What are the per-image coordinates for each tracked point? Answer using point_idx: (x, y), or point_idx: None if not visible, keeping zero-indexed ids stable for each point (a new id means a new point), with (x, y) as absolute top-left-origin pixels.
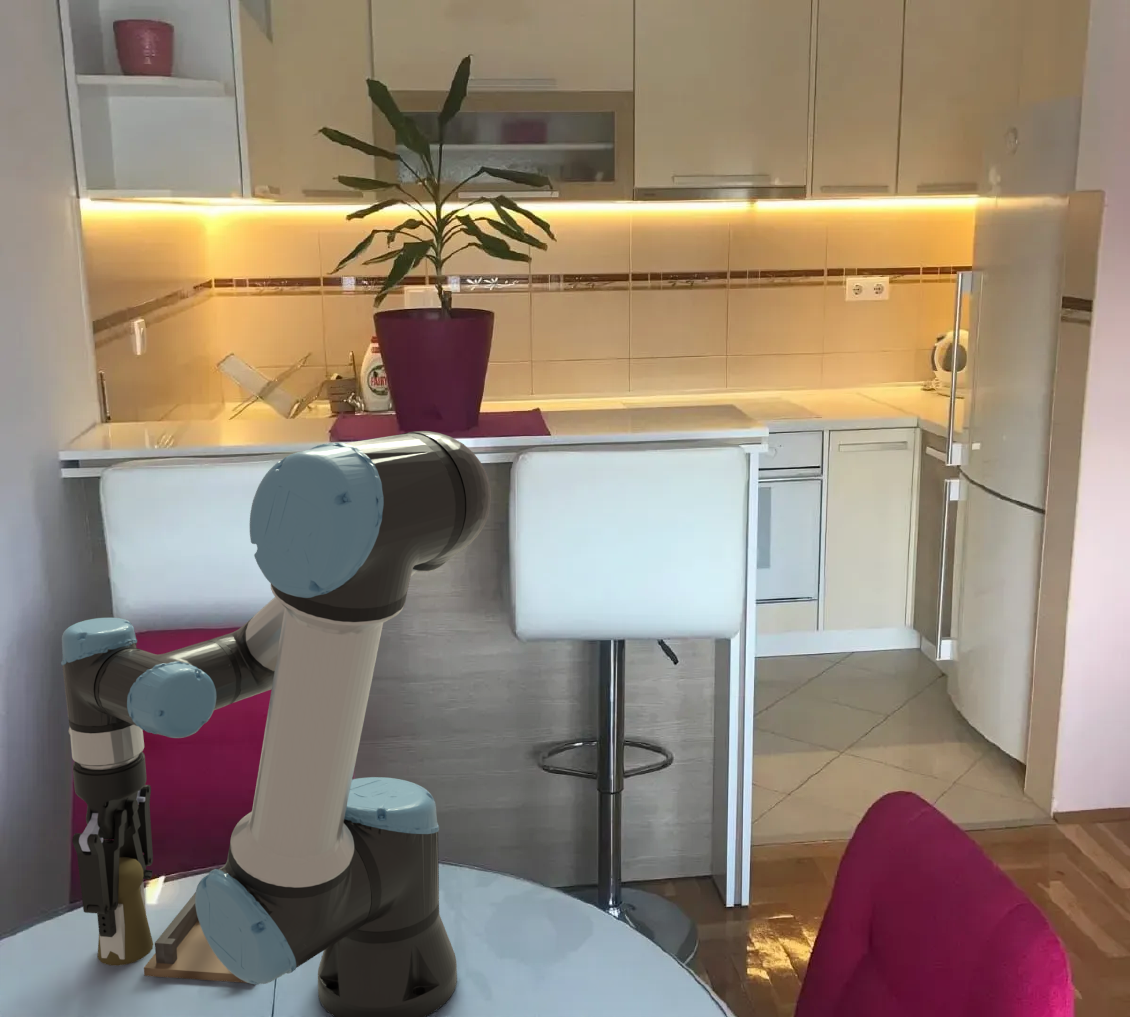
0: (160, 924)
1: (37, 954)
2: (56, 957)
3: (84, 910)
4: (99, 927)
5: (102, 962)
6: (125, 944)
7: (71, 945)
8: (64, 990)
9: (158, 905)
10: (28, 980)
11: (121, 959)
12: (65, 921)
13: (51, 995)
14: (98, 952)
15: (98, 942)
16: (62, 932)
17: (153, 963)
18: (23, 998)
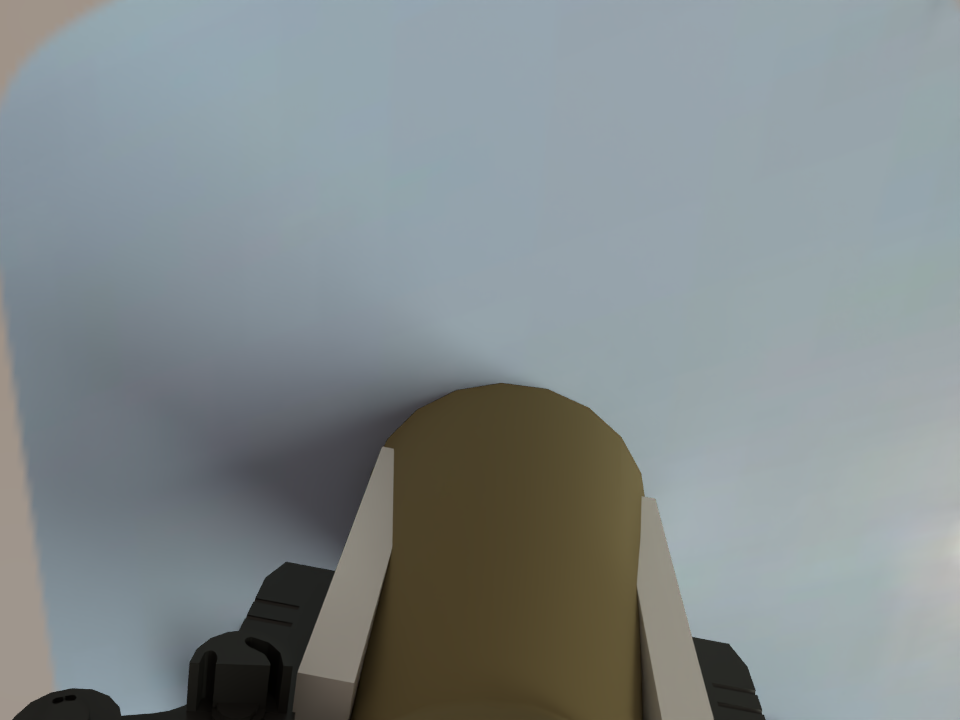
0: (731, 618)
1: (502, 20)
2: (460, 159)
3: (22, 718)
4: (252, 611)
5: (394, 432)
6: None
7: (583, 208)
8: (150, 314)
9: (940, 572)
10: (229, 73)
11: None
12: (889, 67)
13: (104, 261)
14: (438, 415)
15: (449, 438)
16: (747, 96)
17: None
18: (63, 113)
